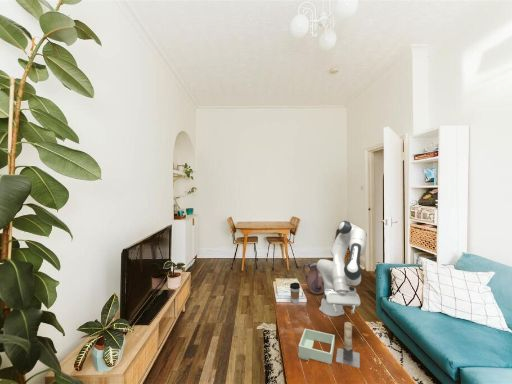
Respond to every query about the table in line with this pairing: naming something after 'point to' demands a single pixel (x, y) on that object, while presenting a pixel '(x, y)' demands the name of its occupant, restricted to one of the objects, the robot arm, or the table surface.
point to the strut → (348, 342)
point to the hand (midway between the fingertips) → (344, 312)
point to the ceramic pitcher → (314, 279)
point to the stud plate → (353, 363)
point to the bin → (309, 352)
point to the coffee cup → (294, 292)
